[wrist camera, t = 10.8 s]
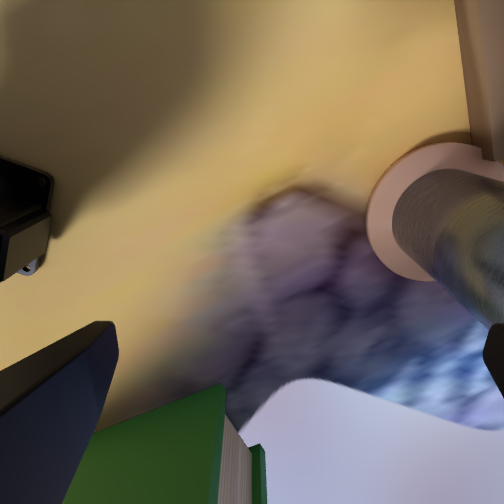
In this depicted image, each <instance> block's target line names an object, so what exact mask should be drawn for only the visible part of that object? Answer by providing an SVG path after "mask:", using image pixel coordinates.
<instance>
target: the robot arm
mask: <svg viewBox="0 0 504 504" xmlns="http://www.w3.org/2000/svg"><path fill="white" fill-rule="evenodd" d="M41 178H43V179H45V181H46V185H43V184H42V183H41ZM53 189H54V179H53V177H52V176H51V175H50V174H49V173H47V172H45V171H42V170H39V169H36V168H34V167H31V166H28V165H25V164H23V163H20V162H17V161H14V160H12V159H9V158H6V157H4V156H1V155H0V282H2V281H5V280H6V279H7V278H9V277H10V276H12V275H13V274H15V273H19V274H23V275H26V276H29V275H32V274H33V273H35V272H36V271H37V270H38V267H39V262H40V256H41V255H42V254H44V253H45V251H46V246H47V240H48V235H49V230H50V225H51V220H52V215H51V212H50V211H49V210H50V204H51V199H52V194H53ZM26 265H29V267H30V269H28V268H27V267H26ZM118 357H119V348H118V341H117V335H116V328H115V325H114V323H113V322H112V321H94V322H92V323H90V324H88V325H87V326H85V327H83V328H81V329H79V330H77V331H75V332H73V333H71V334H70V335H68V336H66V337H64V338H62V339H60V340H58V341H56V342H54V343H52V344H51V345H49V346H47V347H45V348H43V349H41V350H39V351H37V352H35V353H34V354H32V355H30V356H28V357H26V358H24V359H22V360H20V361H18V362H17V363H15V364H13V365H11V366H9V367H7V368H5V369H3V370H1V371H0V504H62V502H63V500H64V498H65V496H66V493H67V491H68V489H69V487H70V484H71V482H72V480H73V478H74V475H75V473H76V471H77V469H78V466H79V464H80V462H81V459H82V457H83V455H84V453H85V450H86V448H87V446H88V444H89V441H90V439H91V437H92V435H93V432H94V430H95V428H96V425H97V423H98V420H99V418H100V415H101V412H102V409H103V406H104V403H105V400H106V396H107V393H108V390H109V387H110V384H111V381H112V377H113V374H114V371H115V368H116V365H117V362H118ZM483 360H484V363H485V365H486V367H487V368H488V370H489V372H490V374H491V376H492V378H493V379H494V381H495V383H496V385H497V387H498V389H499V390H500V392H501V394H502V396H503V398H504V323H495V324H493V325H492V326H491V327H490V329H489V332H488V336H487V339H486V343H485V346H484V349H483Z"/></svg>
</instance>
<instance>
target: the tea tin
mask: <svg viewBox="0 0 504 504" xmlns="http://www.w3.org/2000/svg"><path fill="white" fill-rule="evenodd" d="M392 232H393V236H394V238H395V241H396V243H397V244H398V246H399V247H400V248H401V249H402V250H403V251H404V252H405V253H406V254H407V255H408V256H409V257H410V258H411V259H412V260H413V261H414V262H416V263H417V264H418V265H419V266H420V267H421V268H422V269H423V270H424V271H425V272H426V273H428V274H429V275H430V276H431V277H432V278H433V279H434V280H435V281H436V282H437V283H438V284H439V285H441V286H442V287H443V288H444V289H445V290H446V291H447V292H448V293H449V294H450V295H451V296H453V297H454V298H455V299H456V300H457V301H458V302H459V303H460V304H461V305H462V306H463V307H464V308H466V309H467V310H468V311H469V312H470V313H471V314H472V315H473V316H474V317H475V318H476V319H478V320H479V321H480V322H481V323H482V324H483V325H484V326H485V327H486V328H487V329H488V330H489V329H490V327H491V326H492V325H493V324H495V323H504V182H503V181H499V180H496V179H492V178H489V177H485V176H481V175H478V174H474V173H471V172H467V171H464V170H460V169H449V168H447V169H439V170H436V171H432V172H430V173H427V174H425V175H423V176H421V177H420V178H418V179H417V180H415V181H414V182H413V183H412V184H410V185H409V186H408V187H407V188H406V190H405V191H404V192H403V193H402V195H401V196H400V198H399V199H398V201H397V203H396V206H395V208H394V211H393V216H392Z"/></svg>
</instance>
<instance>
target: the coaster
mask: <svg viewBox="0 0 504 504" xmlns="http://www.w3.org/2000/svg"><path fill="white" fill-rule="evenodd" d="M447 168H449V169H460V170H464V171H467V172H471V173H474V174H478V175H481V176H485V177H489V178H492V179H496V180H499V181H503V182H504V166H503V164H502V163H501V162H500V161H496V162H493V161H488V160H483V158H482V149H481V148H479V147H476V146H473V145H468V144H463V143H456V142H440V143H433V144H429V145H425V146H422V147H419V148H417V149H415V150H413V151H411V152H409V153H407V154H405V155H404V156H402V157H401V158H399V159H398V160H397V161H396V162H394V163H393V164H392V165H391V166H390V167H389V168H388V169H387V170H386V171H385V172H384V173H383V175H382V176H381V177H380V179H379V180H378V181H377V183H376V185H375V186H374V188H373V190H372V192H371V195H370V197H369V200H368V203H367V207H366V213H365V229H366V234H367V238H368V241H369V244H370V246H371V248H372V249H373V251H374V253H375V254H376V255H377V256H378V258H379V259H380V260H381V261H382V262H383V263H384V265H386V266H387V267H388V268H389V269H390V270H392V271H393V272H395V273H396V274H398V275H400V276H403V277H405V278H408V279H412V280H417V281H435V280H434V279H433V278H432V277H431V276H430V275H429V274H428V273H426V272H425V271H424V270H423V269H422V268H421V267H420V266H419V265H418V264H417V263H416V262H414V261H413V260H412V259H411V258H410V257H409V256H408V255H407V254H406V253H405V252H404V251H403V250H402V249H401V248H400V247H399V246H398V244H397V243H396V241H395V238H394V236H393V232H392V216H393V211H394V208H395V206H396V203H397V201H398V199H399V198H400V196H401V195H402V193H403V192H404V191H405V190H406V188H407V187H408V186H409V185H410V184H412V183H413V182H414V181H415V180H417V179H418V178H420V177H421V176H423V175H425V174H427V173H430V172H432V171H436V170H439V169H447Z"/></svg>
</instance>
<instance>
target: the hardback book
mask: <svg viewBox="0 0 504 504" xmlns="http://www.w3.org/2000/svg"><path fill="white" fill-rule="evenodd" d="M226 396H227V392H226V390H225V389H224V387H223V386H222V384H221V383H220V384H218V385H215V386H213V387H210V388H207V389H205V390H202V391H200V392H197V393H195V394H192V395H190V396H187V397H185V398H182V399H179V400H177V401H174V402H172V403H169V404H167V405H164V406H162V407H159V408H157V409H154V410H151V411H149V412H146V413H144V414H141V415H139V416H136V417H134V418H131V419H129V420H126V421H124V422H121V423H118V424H116V425H113V426H111V427H108V428H106V429H103V430H101V431H98V432H96V433H93V435H92V437H91V439H90V441H89V444H88V446H87V448H86V450H85V453H84V455H83V457H82V459H81V462H80V464H79V466H78V469H77V471H76V473H75V475H74V478H73V480H72V482H71V484H70V487H69V489H68V491H67V493H66V496H65V498H64V500H63V502H62V504H267V487H266V466H265V465H266V464H265V451H264V449H263V448H262V446H261V445H260V444H257V445H254V446H252V447H249V448H248V447H247V446H246V444H245V443H244V442H243V440H242V438H241V437H240V435H239V434H238V432H237V431H236V429H235V428H234V426H233V425H232V423H231V422H230V420H229V419H228V417H227V416H226V414H225V408H226Z"/></svg>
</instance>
